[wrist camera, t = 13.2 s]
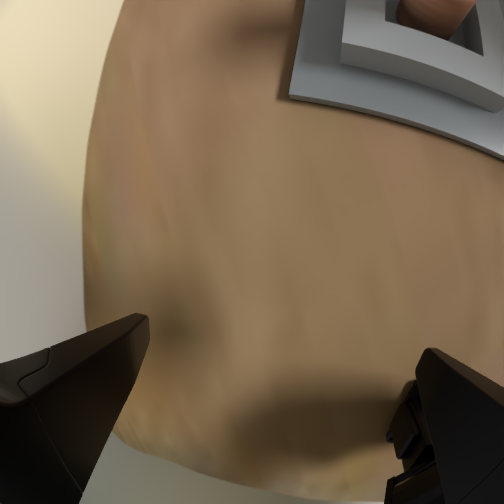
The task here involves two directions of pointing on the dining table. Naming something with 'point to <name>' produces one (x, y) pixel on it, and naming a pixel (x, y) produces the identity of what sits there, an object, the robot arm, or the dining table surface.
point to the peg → (433, 15)
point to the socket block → (406, 68)
